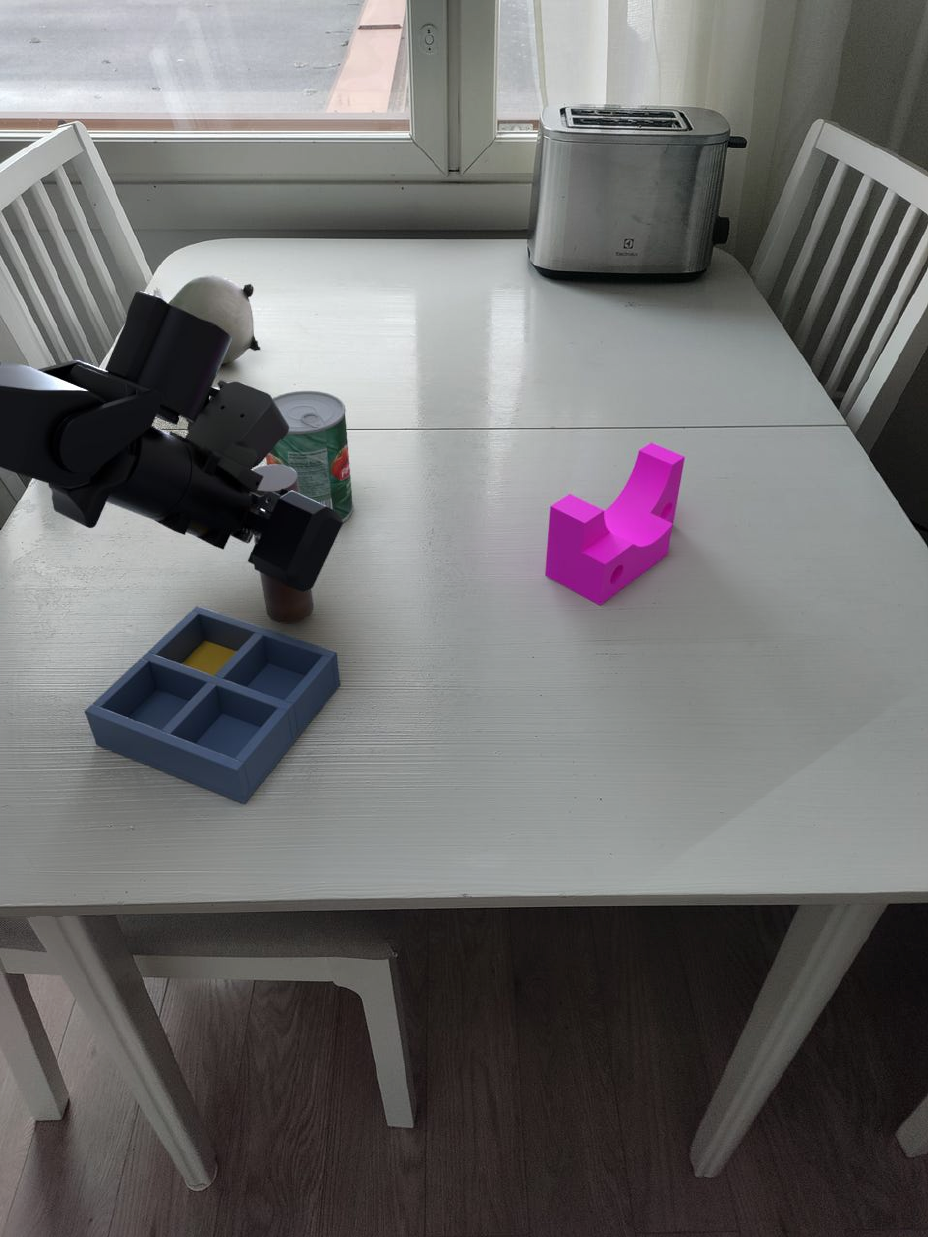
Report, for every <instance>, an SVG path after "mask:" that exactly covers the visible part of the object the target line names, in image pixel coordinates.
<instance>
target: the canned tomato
mask: <svg viewBox="0 0 928 1237" xmlns="http://www.w3.org/2000/svg"><path fill="white" fill-rule="evenodd" d="M272 399H273V400H274V402H275V404H276V405H277V407H278V409H279V410H280V412H281V413H282V415H283V417H284V418H285V420H286V421H287V423H288V425H289V431H288V433H287V435H286V436H285V437H284V438H283V439H282V440H279V441H278V443H277V444H276V445H275V446H274V447H273V449H272V450H271V451H270V452H269V453H268V455H267V456H266V457H265V463H266V464H265V465H284V466H288V467H290V468H292V469H293V470H295V471H296V473H297V475H298V483H299V491H300V494H301V495H303V496H305V497H308V498H310V499H312V500H314V501H316V502H319V503H321V504H323V505H325V506H327V507H329V508H331V509H333V510H335V511H337V512H339V513H341V517H342V521H343V523H344V522H346V521H347V520H348V519H349V518H350V517H351V516H352V513H353V512H354V503H353V490H352V481H351V479H352V478H351V467H350V454H349V445H348V443H349V442H348V430H347V428H348V427H347V420H346V405H345V404H344V402H343V401H342V399H341V398H339V397H337V396H335V395H333V394H330V393H328V392H325V391H324V392H323V391H317V390H297V391H290V392H286V393H283V394H279V395H276V396H275V397H274V396H273V397H272Z"/></svg>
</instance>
